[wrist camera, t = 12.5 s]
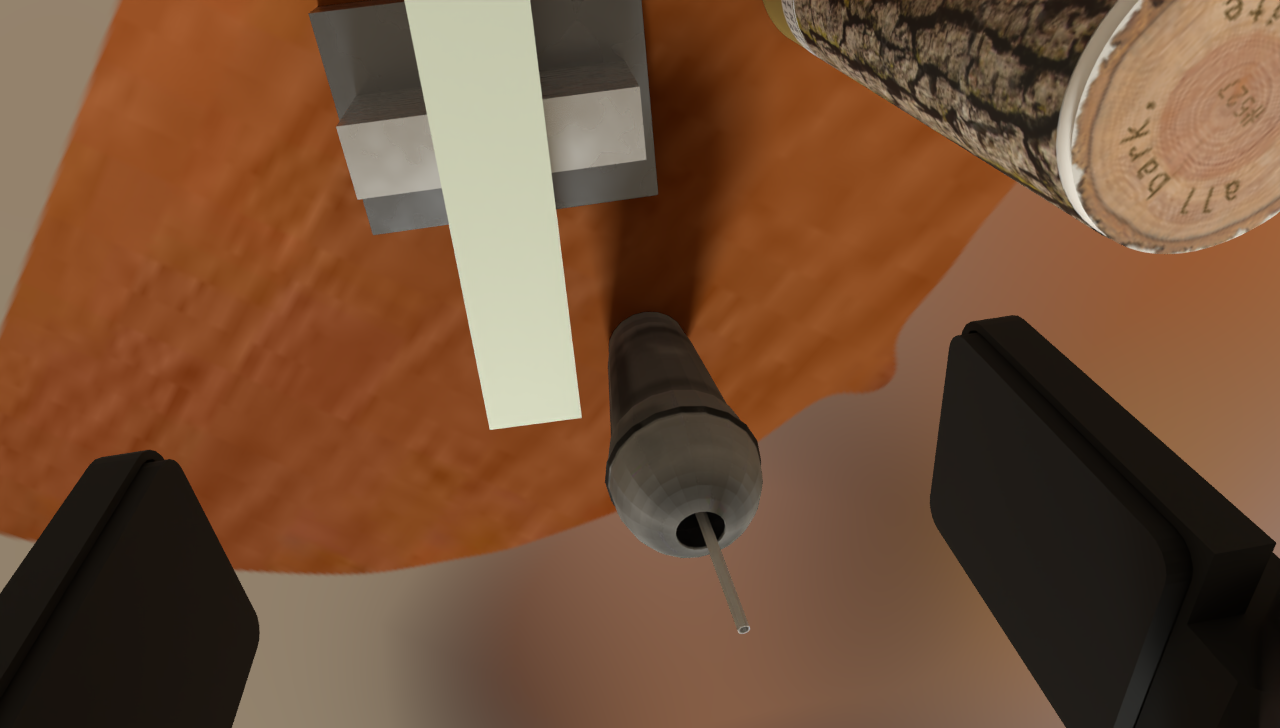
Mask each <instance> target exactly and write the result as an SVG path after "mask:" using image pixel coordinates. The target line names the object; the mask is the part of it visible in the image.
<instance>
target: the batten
mask: <svg viewBox="0 0 1280 728" xmlns="http://www.w3.org/2000/svg"><path fill="white" fill-rule="evenodd" d="M404 1H405V6H406V11H407V16H408V21H409V26H410V31H411V36H412V41H413V46H414V51H415V56H416V61H417V66H418V71H419V76H420V81H421V86H422V91H423V96H424V101H425V106H426V112H427V117H428V122H429V127H430V132H431V137H432V142H433V147H434V152H435V157H436V162H437V167H438V172H439V177H440V182H441V187H442V192H443V197H444V202H445V207H446V212H447V217H448V222H449V227H450V232H451V237H452V242H453V247H454V252H455V257H456V262H457V267H458V272H459V277H460V282H461V287H462V292H463V297H464V302H465V307H466V312H467V317H468V322H469V327H470V332H471V337H472V342H473V347H474V352H475V357H476V362H477V367H478V372H479V377H480V382H481V387H482V392H483V397H484V402H485V407H486V412H487V417H488V422H489V427H490V430H492V429H500V428H507V427H515V426H522V425H530V424H538V423H545V422H553V421H560V420H568V419H576V418H582V417H581V408H580V400H579V392H578V384H577V376H576V368H575V360H574V352H573V344H572V336H571V327H570V319H569V311H568V303H567V295H566V287H565V279H564V271H563V263H562V255H561V246H560V238H559V230H558V222H557V214H556V206H555V198H554V190H553V182H552V173H551V165H550V157H549V149H548V141H547V133H546V125H545V117H544V109H543V101H542V92H541V84H540V76H539V68H538V60H537V52H536V44H535V36H534V28H533V19H532V11H531V3H530V0H404Z"/></svg>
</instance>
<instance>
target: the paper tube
mask: <svg viewBox="0 0 1280 728" xmlns="http://www.w3.org/2000/svg"><path fill="white" fill-rule="evenodd" d="M763 3H764V6H765V8H766V11H767V13H768V15H769V17H770V18H771V20H772V22H773V23H774V24H775V26H776V27H777V28H778V29H779V30H780V31H781V32H782V33H783V34H784V35H785V36H786V37H788V38H789V39H791V40H792V41H794V42H796V43H797V44H799V45H800V46H802V47H804V48H805V49H807V50H808V51H809V52H811V53H812V54H814V55H815V56H817V57H818V58H819V57H820V59H822V60H823V61H825V62H826V63H828V64H830V65H831V66H833V67H834V68H836V69H838V70H839V71H841V72H842V73H844V74H846V75H847V76H849V77H850V78H852V79H854V80H855V81H857V82H858V83H860V84H862V85H863V86H865V87H866V88H868V89H870V90H871V91H873V92H874V93H876V94H878V95H879V96H881V97H882V98H884V99H886V100H887V101H889V102H890V103H892V104H894V105H895V106H897V107H898V108H900V109H902V110H903V111H905V112H906V113H908V114H910V115H911V116H913V117H914V118H916V119H918V120H919V121H921V122H922V123H924V124H926V125H927V126H929V127H930V128H932V129H934V130H935V131H937V132H938V133H940V134H942V135H943V136H945V137H946V138H948V139H950V140H951V141H953V142H954V143H956V144H958V145H959V146H961V147H962V148H964V149H965V150H967V151H969V152H970V153H972V154H973V155H975V156H977V157H978V158H980V159H981V160H983V161H985V162H986V163H988V164H989V165H991V166H993V167H994V168H996V169H997V170H999V171H1001V172H1002V173H1004V174H1005V175H1007V176H1009V177H1010V178H1012V179H1013V180H1015V181H1017V182H1018V183H1020V184H1021V185H1023V186H1025V187H1026V188H1028V189H1029V190H1031V191H1033V192H1034V193H1036V194H1038V195H1039V196H1041V197H1042V198H1044V199H1045V200H1047V201H1049V202H1050V203H1052V204H1053V205H1056V206H1057V207H1058V208H1060V209H1061V210H1063V211H1065V212H1066V213H1068V214H1069V215H1071V216H1073V217H1074V218H1076V219H1077V220H1079V221H1081V222H1082V223H1084V224H1085V225H1087V226H1089V227H1090V228H1092V229H1093V230H1095V231H1097V232H1098V233H1100V234H1101V235H1103V236H1105V237H1108V238H1110V239H1112V240H1114V241H1115V242H1117V243H1119V244H1121V245H1123V246H1126V247H1128V248H1131V249H1134V250H1138V251H1142V252H1148V253H1155V254H1156V253H1157V254H1175V253H1185V252H1191V251H1197V250H1201V249H1205V248H1208V247H1212V246H1215V245H1218V244H1220V243H1224V242H1226V241H1229V240H1231V239H1233V238H1236V237H1238V236H1240V235H1242V234H1244V233H1246V232H1248V231H1250V230H1252V229H1253V228H1255V227H1257V226H1259V225H1260V224H1262V223H1264V222H1265V221H1267V220H1269V219H1270V218H1272V217H1273V216H1275V215H1276V214H1277V213H1278V212H1280V0H763Z"/></svg>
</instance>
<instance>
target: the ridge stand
mask: <svg viewBox="0 0 1280 728" xmlns="http://www.w3.org/2000/svg"><path fill="white" fill-rule="evenodd" d="M530 3H531V11H532V19H533V28H534V36H535V44H536V52H537V60H538V68H539V76H540V84H541V92H542V101H543V109H544V117H545V125H546V133H547V141H548V149H549V157H550V165H551V173H552V182H553V190H554V198H555V206H556V209H561V208H568V207H575V206H582V205H589V204H596V203H603V202H610V201H617V200H625V199H632V198H639V197H646V196H653V195H658V187H657V175H656V163H655V152H654V140H653V129H652V117H651V106H650V94H649V83H648V71H647V60H646V48H645V37H644V25H643V13H642V2H641V0H530ZM309 17H310V20H311V24H312V27H313V31H314V34H315V37H316V41H317V44H318V48H319V51H320V55H321V58H322V61H323V65H324V68H325V72H326V75H327V79H328V82H329V85H330V89H331V92H332V96H333V99H334V103H335V106H336V109H337V113H338V116H339V120H340V121H339V123H338V125H337V126H336V128H337V131H338V135H339V138H340V142H341V145H342V148H343V152H344V155H345V158H346V162H347V165H348V169H349V172H350V175H351V179H352V182H353V186H354V189H355V192H356V196H357V199H358V200H359V199H363V202H364V205H365V209H366V212H367V216H368V219H369V223H370V226H371V229H372V233H373V235H377V234H384V233H391V232H398V231H405V230H412V229H419V228H426V227H434V226H441V225H448V224H449V222H448V217H447V212H446V207H445V202H444V197H443V192H442V187H441V182H440V177H439V172H438V167H437V162H436V157H435V152H434V147H433V142H432V137H431V132H430V127H429V122H428V117H427V112H426V106H425V101H424V96H423V91H422V86H421V81H420V76H419V71H418V66H417V61H416V56H415V51H414V46H413V41H412V36H411V31H410V26H409V21H408V16H407V11H406V6H405V1H404V0H367V1H359V2H351V3H342V4H334V5H326V6H318V7H317V8H315V9H314V10H313V11H311V12H310V13H309Z"/></svg>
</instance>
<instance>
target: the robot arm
mask: <svg viewBox="0 0 1280 728" xmlns="http://www.w3.org/2000/svg"><path fill="white" fill-rule="evenodd" d="M930 508H931V513H932V517H933V520H934V523H935V525H936V527H937V528H938V530H939V531H940V533H941V535H942V536H943V538H944V539H945V541H946V542H947V544H948V545H949V547H950V549H951V550H952V552H953V553H954V555H955V556H956V558H957V559H958V561H959V563H960V564H961V566H962V567H963V569H964V570H965V572H966V574H967V575H968V577H969V578H970V579H971V581H972V583H973V584H974V586H975V587H976V589H977V590H978V592H979V594H980V595H981V597H982V598H983V600H984V601H985V603H986V604H987V606H988V608H989V609H990V610H991V612H992V614H993V615H994V617H995V618H996V620H997V622H998V623H999V625H1000V626H1001V627H1002V629H1003V631H1004V632H1005V634H1006V635H1007V637H1008V639H1009V640H1010V642H1011V643H1012V645H1013V646H1014V648H1015V649H1016V651H1017V652H1018V654H1019V656H1020V657H1021V659H1022V660H1023V662H1024V663H1025V665H1026V666H1027V668H1028V670H1029V671H1030V672H1031V674H1032V676H1033V677H1034V679H1035V680H1036V682H1037V683H1038V685H1039V686H1040V688H1041V690H1042V691H1043V693H1044V694H1045V696H1046V697H1047V699H1048V700H1049V702H1050V703H1051V705H1052V707H1053V708H1054V710H1055V711H1056V713H1057V714H1058V716H1059V718H1060V719H1061V721H1062V722H1063V723H1064V725H1065V727H1066V728H1280V559H1279V558H1278V557H1277V556H1276V555H1275V554H1274V553H1273V550H1274V547H1275V545H1276V542H1275V541H1274V540H1273V539H1271V538H1270V537H1269V536H1268V535H1267V534H1266V533H1265V532H1263V531H1262V530H1261V529H1260V528H1259V527H1258V526H1257V525H1256V524H1254V523H1253V522H1252V521H1251V520H1250V519H1249V518H1248V517H1247V516H1245V515H1244V514H1243V513H1242V512H1241V511H1240V510H1238V508H1236V507H1235V506H1234V505H1233V504H1232V503H1231V502H1229V501H1228V500H1227V499H1226V498H1225V497H1224V496H1223V495H1222V494H1221V493H1219V492H1218V491H1217V490H1216V489H1215V488H1214V487H1212V485H1210V484H1209V483H1208V482H1207V481H1206V480H1205V479H1204V478H1202V477H1201V476H1200V475H1199V474H1198V473H1197V472H1196V471H1195V470H1193V469H1192V468H1191V467H1190V466H1189V465H1188V464H1187V463H1186V462H1184V461H1183V460H1182V459H1181V458H1180V457H1179V456H1178V455H1176V454H1175V453H1174V452H1173V451H1172V450H1171V449H1170V448H1169V447H1167V446H1166V445H1165V444H1164V443H1163V442H1162V441H1161V440H1159V439H1158V438H1157V437H1156V436H1155V435H1154V434H1153V433H1152V432H1150V431H1149V430H1148V429H1147V428H1146V427H1145V426H1144V425H1143V424H1141V423H1140V422H1139V421H1138V420H1137V419H1136V418H1135V417H1133V416H1132V415H1131V414H1130V413H1129V412H1128V411H1127V410H1125V409H1124V408H1123V407H1122V406H1121V405H1120V404H1119V403H1118V402H1116V401H1115V400H1114V399H1113V398H1112V397H1111V396H1110V395H1109V394H1108V393H1106V392H1105V391H1104V390H1103V389H1102V388H1101V387H1100V386H1098V385H1097V384H1096V383H1095V382H1094V381H1093V380H1092V379H1091V378H1089V377H1088V376H1087V375H1086V374H1085V373H1084V372H1083V371H1082V370H1080V369H1079V368H1078V367H1077V366H1076V365H1075V364H1074V363H1072V362H1071V361H1070V360H1069V359H1068V358H1067V357H1065V355H1063V354H1062V353H1061V352H1060V351H1059V350H1058V349H1057V348H1056V347H1054V346H1053V345H1052V344H1051V343H1050V342H1049V341H1047V340H1046V339H1045V338H1044V337H1043V336H1042V335H1041V334H1039V333H1038V332H1037V331H1036V330H1035V329H1034V328H1033V327H1032V326H1031V325H1029V324H1028V323H1027V322H1026V321H1025V320H1024V319H1022V318H1021V317H1019V316H1013V315H1011V316H1005V317H999V318H993V319H985V320H980V321H973V322H970V323H968V324H966V326H965V327H964V329H963V331H962V335H958V336H955V337H954V338H953V339H952V341H951V343H950V347H949V355H948V362H947V369H946V378H945V386H944V393H943V401H942V409H941V417H940V424H939V432H938V440H937V448H936V455H935V463H934V471H933V479H932V487H931V494H930ZM258 642H259V623H258V618H257V615H256V612H255V610H254V608H253V607H252V605H251V603H250V601H249V599H248V597H247V595H246V593H245V591H244V589H243V587H242V585H241V583H240V581H239V580H238V577H237V575H236V573H235V571H234V569H233V567H232V566H231V564H230V562H229V560H228V558H227V556H226V554H225V552H224V550H223V548H222V546H221V544H220V542H219V540H218V538H217V536H216V534H215V532H214V530H213V528H212V526H211V525H210V523H209V521H208V519H207V517H206V515H205V513H204V511H203V509H202V507H201V505H200V503H199V501H198V499H197V497H196V495H195V493H194V491H193V489H192V487H191V486H190V484H189V482H188V480H187V478H186V476H185V474H184V472H183V470H182V468H181V467H180V465H179V464H178V463H177V462H176V461H174V460H171V459H168V460H164V459H163V457H162V456H161V455H160V454H159V453H157V452H156V451H152V450H145V451H139V452H132V453H126V454H119V455H113V456H107V457H101V458H98V459H95V460H94V461H93V462H92V463H91V464H90V465H89V466H88V468H87V469H86V471H85V472H84V474H83V475H82V477H81V478H80V479H79V481H78V482H77V484H76V485H75V487H74V488H73V490H72V491H71V492H70V494H69V495H68V497H67V498H66V500H65V501H64V503H63V504H62V505H61V507H60V508H59V510H58V511H57V513H56V514H55V515H54V517H53V518H52V520H51V521H50V523H49V524H48V526H47V527H46V528H45V530H44V531H43V533H42V534H41V536H40V537H39V539H38V540H37V541H36V543H35V544H34V546H33V547H32V549H31V550H30V551H29V553H28V554H27V556H26V558H25V559H24V560H23V562H22V563H21V564H20V566H19V567H18V569H17V570H16V572H15V573H14V575H13V576H12V577H11V579H10V580H9V582H8V583H7V585H6V586H5V588H4V589H3V591H2V592H1V593H0V728H232V725H233V722H234V719H235V716H236V713H237V709H238V706H239V703H240V700H241V697H242V694H243V691H244V688H245V684H246V681H247V678H248V675H249V672H250V668H251V666H252V663H253V659H254V656H255V653H256V650H257V646H258Z"/></svg>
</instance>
